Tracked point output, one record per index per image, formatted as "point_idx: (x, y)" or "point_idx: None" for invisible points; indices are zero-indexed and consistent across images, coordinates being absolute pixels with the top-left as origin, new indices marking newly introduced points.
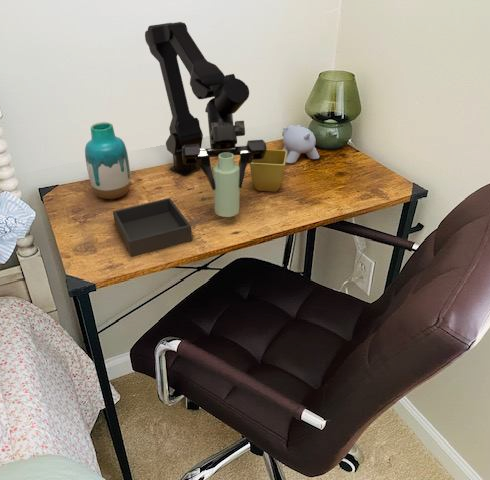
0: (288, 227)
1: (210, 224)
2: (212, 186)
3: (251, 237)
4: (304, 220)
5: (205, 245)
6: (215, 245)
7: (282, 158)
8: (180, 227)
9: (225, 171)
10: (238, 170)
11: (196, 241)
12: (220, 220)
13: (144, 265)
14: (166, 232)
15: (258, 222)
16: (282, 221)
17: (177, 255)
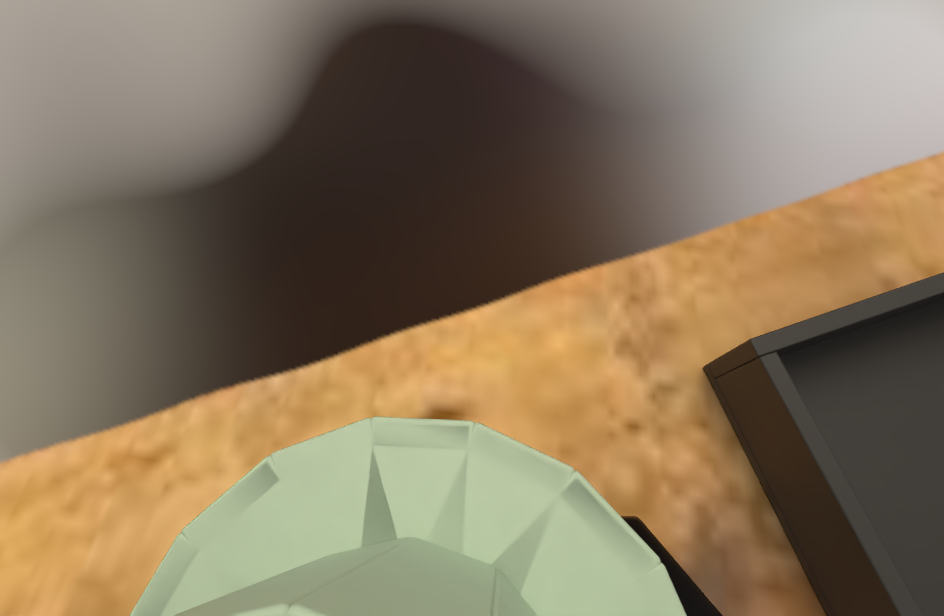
0: (135, 434)
1: None
2: (650, 533)
3: (363, 360)
4: (14, 499)
5: (621, 315)
6: (566, 309)
7: None
8: (824, 328)
9: (442, 535)
10: (162, 568)
11: (675, 358)
12: None
13: (925, 185)
14: (913, 284)
15: None
16: (139, 508)
17: (767, 245)
